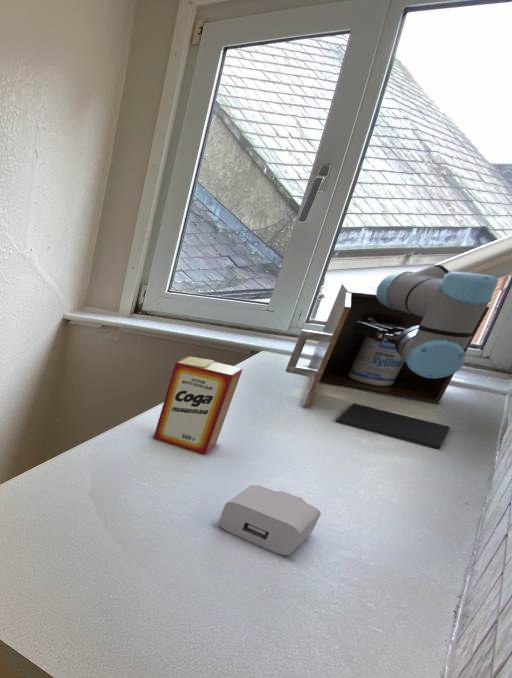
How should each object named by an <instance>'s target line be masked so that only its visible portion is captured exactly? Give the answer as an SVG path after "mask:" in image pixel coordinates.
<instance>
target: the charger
mask: <svg viewBox="0 0 512 678" xmlns="http://www.w3.org/2000/svg"><path fill="white" fill-rule="evenodd" d="M320 517H321V511H320V510H319V509H318V507H316V506H314V505H313V504H310V503H307V502H306V500H304V499H303V498H302V497H299V496H296V495H294V494H292V493H289V492H286V491H284V490H283V491H281V490H280V491H279V490H276V491H275V490H273V489H270V488H267V487H265V486H262V485H257V484H252V485H249V486H248V487H246V488H245V489H243V490H242V491H241V492H239V493H238V494H237V495H236V496H234V497H232V498H231V499H229V501H227V502H226V503H224V506H223V509H222V511H221V514H220V517H219V519H218V525H219V527H220V528H222V530H224V531H226V532H228V533H230V534H232V535H235V536H237V537H239V538H242V539H244V540H246V541H248V542H250V543H253V544H254V545H257V546H260V547H261V548H263V549H266V550H268V551H271V552H273V553H275V554H278V555H282V556H290V555H291V554H292V553H293V552H294V551H295V550H296V549H297V548H298V547H300V545H301V544H302V543H303V542H304V541H305V540H306V539H307V538H309V536H310V535H311V534H312V533H313V531H314V529H315V527H316V525H317V523H318V521H319V518H320Z"/></svg>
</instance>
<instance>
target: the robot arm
mask: <svg viewBox="0 0 512 678" xmlns="http://www.w3.org/2000/svg"><path fill="white" fill-rule="evenodd" d="M510 275H512V234H509V235H506V236H504V237H502V238H499V239H496V240H494V241H491V242H489V243H487V244H484V245H481V246H479V247H476V248H473V249H470V250H468V251H466V252H464V253H461V254H459V255H456V256H453V257H451V258H448V259H445V260H443V261H440V262H438V263H436V264H433V265H431V266H427V267H425V268H422V269H420V270H417V271H396V272H393V273H391V274H388V275H387V276H386V277H384V278H383V279H382V280H381V281H380V283H379V284H378V285H377V287H378V288H377V291H376V295H377V296H376V297H377V299H378V301H379V302H380V303H381V304H383V305H385V306H387V307H390V308H391V309H394V310H399V311H403V312H407V313H410V314H414V315H417V316H421V317H423V319H422V321H421V324H420V325H418V326H414V327H411V328H408V329H404V328H397V327H395V328H391V327H387V326H383V325H379V324H376V323H377V322H376V321H375V320H374V319H373V318H369V319H368V320H367V322H362V321H357V323H356V325H355V328H354V330H353V332H355V333H358V334H361V335H364V336H367V337H369V338H372V339H374V340H375V341H377V342H382V341H383V340H384V339H387V341H388V342H390V343H393V344H395V348H396V351H397V352H398V353H399V355H400V356H401V357H402V358H403V359H404V360H405V362H406V363H407V365H408V367H409V368H410V370H412V371H413V372H415V373H416V374H418V375H420V376H422V377H426V378H443V377H446V376H449V375H451V374H453V373H454V374H455V373H456V372H458V371H459V370H460V369H461V368H463V366H464V364H465V361H466V353H465V352H464V348H467V347H468V345H469V343H470V341H471V339H472V336H470V335H471V334H472V332H473V330H474V328H475V326H476V324H477V323H478V321H479V319H480V317H481V316H482V314H483V312H484V310H485V308H486V307H487V306H488V305H489V303H490V302H491V301H492V299H493V294H494V292H495V291H496V288H497V286H498V284H499V279H503V278H506V277H508V276H510ZM400 331H402V332H400ZM470 344H471V343H470ZM469 346H470V345H469ZM468 348H469V347H468Z"/></svg>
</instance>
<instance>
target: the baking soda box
mask: <svg viewBox="0 0 512 678" xmlns="http://www.w3.org/2000/svg"><path fill="white" fill-rule="evenodd" d="M243 369H244V368H243V367H238V366H235V365H230V364H226V363H221V362H218V361H215V360H214V359H207V358H202V357H197V356H190V355H188V356H185V357H183V358H180V359H179V360H178V361H176V362H175V364H174V367H173V370H172V374H171V377H170V379H169V380H170V381H169V383H168V386H167V387H168V388H167V391H166V394H165V398H164V401H163V404H162V407H161V410H160V414H159V417H158V421H157V424H156V428H155V431H154V434H153V437H152V438H153V439H154V440H158V441H161V442H164V443H167V444H169V445H173V446H176V447H179V448H183V449H186V450H187V451H188V450H189V451H191V452H195V453H197V454H200V455H204V456H205V455H207V454H208V453H209V452H210V451H211V450H212V449H213V448H214V447H215V446H217V442H218V440H219V438H220V434H221V430H222V428H223V425H224V422H225V420H226V416H227V414H228V411H229V408H230V406H231V403H232V400H233V397H234V394H235V392H236V390H237V387H238V384H239V380H240V378H241V374H242V372H243Z"/></svg>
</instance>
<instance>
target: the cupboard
mask: <svg viewBox="0 0 512 678" xmlns="http://www.w3.org/2000/svg"><path fill="white" fill-rule="evenodd" d="M377 288H378V286H371V285H370V286H369V285H360V284H351V283H341V285H340V288H339V290H338V293H337V294H336V297H335V300H334V302H333V305H332V307H331V309H330V313H329V314H328V317H327V320H326V322H325V325H324V327H323V329H322V331H321V332H322V333H330V331H331V328H332V326H333V324H334V321H335V319H336V316H337V314H338V312H339V309H340V307H341V304H342V302H343V299H344V297H345V295H346V293H351V308H350V310H349V313H348V315H347V317H346V320H345V322H344V324H343V327H342V329H341V331H340V334H339V336H338V339H337V341H336V343H335V346H334V348H333V350H332V353H331V355H330V357H329V360H328V362H327V364H326V367H325V369H324V372H323V374H322V376H321V379H320V381H319V383H318V384H322V385H323V384H324V385H329V386H335V387H341V388H346V389H351V390H358V391H362V392H369V393H374V394H380V395H385V396H391V397H396V398H403V399H408V400H412V401H418V402H425V403H429V404H436V405H438V404H440V401H441V399H442V398H443V396H444V394H445V392H446V390H447V389H448V386H449V385H450V383H451V381H452V379H453V377H454V375H455V373H453V374H451V375H449V376H446V377H443V378H426V377H422V376H420V375H418V374H416V373H415V372H413V371H412V370H410V368H409V367H408V365H407V363H406V362H405V361H404V363H403V365H402V367H401V369H400V371H399V373H398V375H397V377H396V379H395V381H394V383H393V384H392V385H390V386H375V385H369V384H365V383H361V382H358V381H355V380H353V379H351V378H350V377H349V376H348V374H349V371H350V369H351V367H352V365H353V363H354V361H355V358H356V356H357V354H358V352H359V350H360V348H361V345H362V343H363V341H364V339H365V337H366V336H364V335H361V334H358V333H355V332H353V330H354V328H355V325H356V323H357V321H362V322H367V320H368V319H369V318H373V319H374V320H375V321H376V322H377V323H384V324H393V325H399V326H405V327H409V328H411V327H414V326H418V325H420V324H421V321H422V319H423V317H421V316H417V315H414V314H410V313H407V312H403V311H399V310H394V309H391V308H390V307H387V306H385V305H383V304H381V303H380V302H379V301H378V299H377V297H376V296H377V295H376V291H377ZM490 308H491V307H490V306H488V305H487V307H486V308H485V310H484V312H483V314H482V316H481V317H480V319H479V321H478V323H477V324H476V326H475V328H474V330H473V332H472V334H471V335H470V336H472V339H471V341H470V343H469V345H468V347H467V348H464V352H465V354H466V353H467V351H468V349H469V347H470V345H471V343H472V342H473V340H474V338H475V336H476V334H477V332H478V330H479V329H480V326H481V325H482V323H483V321H484V319H485V317H486V315H487V313H488V311H489V310H490ZM317 341H318V342H317V344H316V347H315V349H314V351H313V354H312V356H311V359H310V361H309V364H308V368H311V369H315V367H316V364H317V362H318V360H319V357H320V355H321V352H322V350H323V348H324V345H325V343H326V342H325V341H319V340H317Z"/></svg>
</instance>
